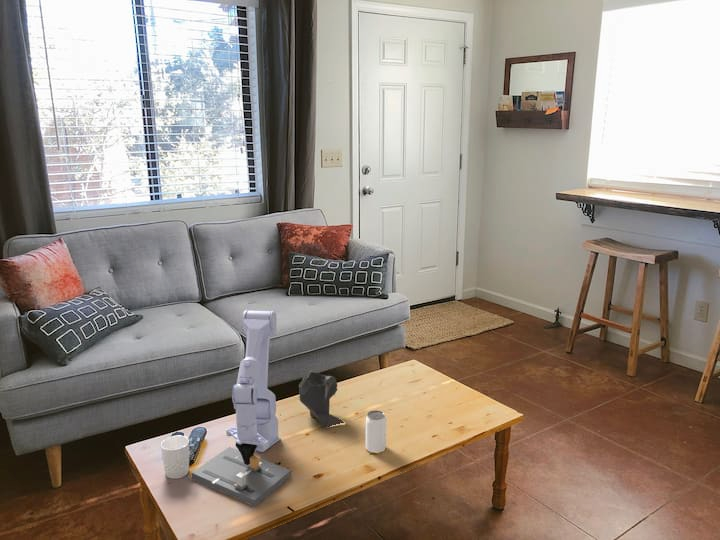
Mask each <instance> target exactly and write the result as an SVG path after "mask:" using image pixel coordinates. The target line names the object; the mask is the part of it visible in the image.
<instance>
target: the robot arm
mask: <svg viewBox="0 0 720 540" xmlns="http://www.w3.org/2000/svg"><path fill="white" fill-rule="evenodd" d="M277 319H278V318H277V313H276V311H275V310H249V309H245V310H244V311H243V313H242V319H241V324H242V329H243V331H244V334H245V335H246V345H245V355H244V356H245V357H244V359H241V360H240V363H239V369H238V373H237V378H236V384H234V385H233V387H232V391H231V392H232V393H231V399H232V400H231V401H232V403H233V410H235V422H236V428H235V427H229V428H227V429H226V430H225V431H226V437H233V438H234V439H235V448H237V450H239V451H240V453H241V455H242V458H243V461H244V464H246V465H249V464H250V457H252V456H253V455H255V452H256V451H258V452H260V453H264V452H265V451H267V450H268V449H270V448H271V447H272V446H273V445H274V444H277V443H278V442H279V441H280V440H281V437H280V436H279V420H278V418H277V416H276V415H277V414H276V413H277V402H276V400H277V399H276V398H277V397H276V394H274V392H272V391H271V390H270V389H268V379H269V375H268V374H269V355H270V353H269V352H270V342H271V341H270V340H271V338H272V337H275V336H276V333H277Z"/></svg>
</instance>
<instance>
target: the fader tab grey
mask: <svg viewBox="0 0 720 540" xmlns="http://www.w3.org/2000/svg"><path fill="white" fill-rule="evenodd" d="M248 485H249V483H247V482H246V474H244V473H241V472H240V473H238V474H237V475H236V484H235V485H234V487H236V488H238V489H241V490H243V489H244V488H245V487H247V486H248Z"/></svg>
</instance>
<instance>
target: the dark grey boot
mask: <svg viewBox="0 0 720 540" xmlns="http://www.w3.org/2000/svg"><path fill="white" fill-rule="evenodd" d="M337 391H338V382H337V379H336V376H332V375H324V374H321V373H318V372H316V371H314V370H313V369H310V370H309V372H308V373H307V376H306V375H305V376H304V377H303V378H302V380H301V381H300V383H299V384H298V393H299V402H301V404H303V405H304V406H305V407H306V408H307V409H308V410H309V416H311V418H315V419H316V421H318V422H319V423H320V424H321V425H322V427H323V428H324V429H325V428H326V429H328V428H327V427H330V426H332V425H336V424H340V423H344V422H343V421H342V420H343V419H342V418H339V417H338V416H335V415H333V414H330V399H331V398H332V397H333V396H335V395H336V393H337ZM341 419H342V420H341Z"/></svg>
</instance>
